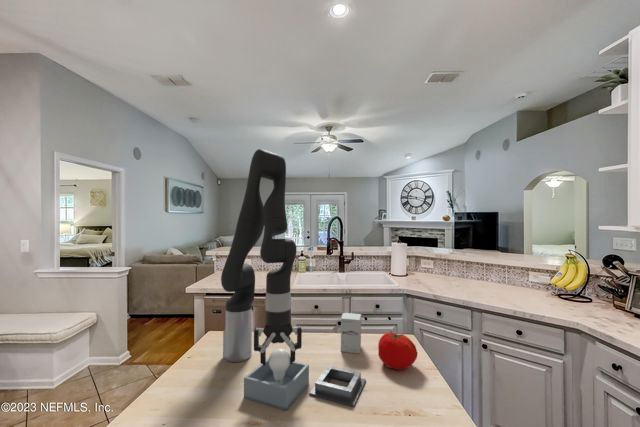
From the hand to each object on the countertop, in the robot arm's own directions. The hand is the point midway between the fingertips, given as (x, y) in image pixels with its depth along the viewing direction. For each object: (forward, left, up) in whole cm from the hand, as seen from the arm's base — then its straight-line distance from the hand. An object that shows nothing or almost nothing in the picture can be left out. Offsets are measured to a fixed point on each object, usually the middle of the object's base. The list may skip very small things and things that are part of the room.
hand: (277, 363), depth 82 cm
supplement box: (+12, +34, -8) cm, 37 cm away
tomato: (+30, +28, -8) cm, 42 cm away
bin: (0, 0, -8) cm, 8 cm away
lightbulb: (0, 0, -7) cm, 7 cm away
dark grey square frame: (+16, +8, -8) cm, 19 cm away
